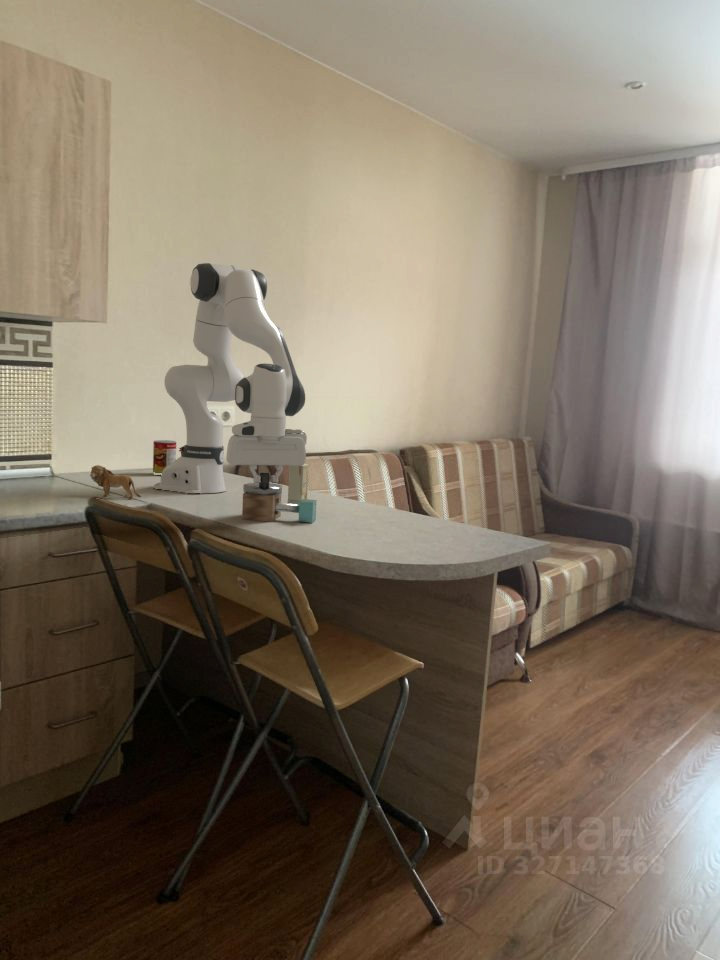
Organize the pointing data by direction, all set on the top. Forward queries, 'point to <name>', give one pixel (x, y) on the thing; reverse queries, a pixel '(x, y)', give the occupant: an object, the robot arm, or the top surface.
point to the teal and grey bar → (300, 509)
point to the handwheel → (263, 486)
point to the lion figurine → (112, 481)
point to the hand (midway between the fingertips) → (265, 482)
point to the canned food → (163, 454)
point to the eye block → (260, 507)
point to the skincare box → (297, 483)
